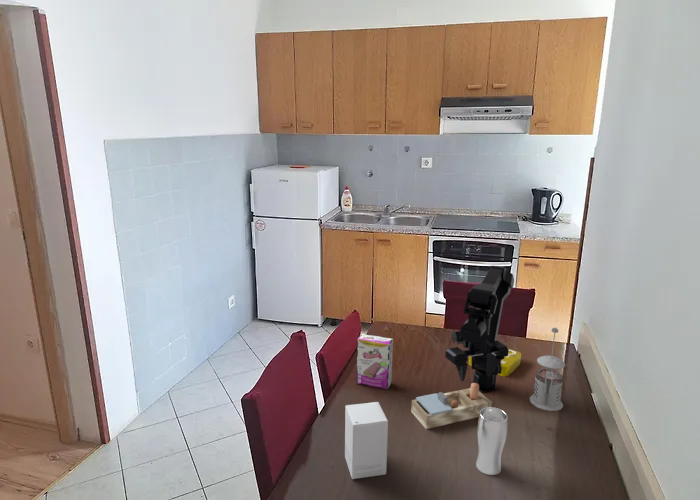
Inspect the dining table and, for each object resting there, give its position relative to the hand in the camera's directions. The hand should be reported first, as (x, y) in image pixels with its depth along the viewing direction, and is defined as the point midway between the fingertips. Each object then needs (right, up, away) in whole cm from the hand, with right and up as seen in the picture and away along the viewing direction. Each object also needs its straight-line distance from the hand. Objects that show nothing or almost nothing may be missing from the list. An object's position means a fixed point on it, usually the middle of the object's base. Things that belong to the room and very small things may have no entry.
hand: (475, 378), depth 142 cm
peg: (0, -9, +2) cm, 9 cm away
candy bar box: (-30, -6, +16) cm, 34 cm away
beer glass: (-3, -16, -23) cm, 28 cm away
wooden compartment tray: (-7, -10, 0) cm, 13 cm away
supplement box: (-34, -16, -23) cm, 44 cm away
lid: (-13, -7, -3) cm, 15 cm away
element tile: (+15, -4, +31) cm, 35 cm away
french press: (+24, -10, +6) cm, 26 cm away
